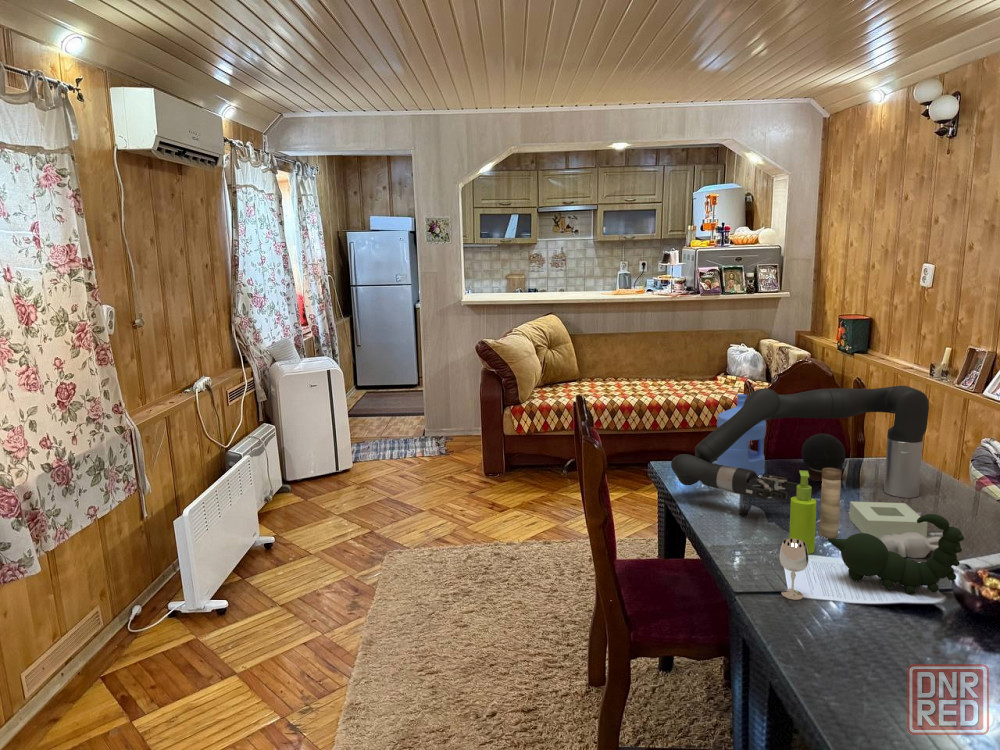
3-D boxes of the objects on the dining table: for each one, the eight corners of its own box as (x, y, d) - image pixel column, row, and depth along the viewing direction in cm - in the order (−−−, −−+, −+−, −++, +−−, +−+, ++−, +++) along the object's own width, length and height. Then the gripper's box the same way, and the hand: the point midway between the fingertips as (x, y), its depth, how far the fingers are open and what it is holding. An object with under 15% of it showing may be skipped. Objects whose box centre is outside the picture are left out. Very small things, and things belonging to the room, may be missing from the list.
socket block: (849, 518, 184) (850, 501, 184) (903, 520, 182) (904, 503, 181) (866, 538, 171) (868, 520, 170) (926, 540, 168) (927, 522, 167)
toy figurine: (946, 592, 146) (822, 563, 157) (962, 512, 142) (834, 489, 153) (953, 612, 137) (821, 580, 148) (970, 528, 134) (834, 502, 144)
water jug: (714, 479, 221) (716, 398, 217) (718, 466, 236) (719, 389, 231) (764, 483, 215) (766, 400, 211) (764, 469, 230) (767, 391, 225)
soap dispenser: (812, 544, 169) (815, 469, 166) (815, 555, 162) (819, 477, 159) (787, 541, 171) (790, 467, 167) (789, 552, 164) (792, 476, 161)
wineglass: (806, 590, 145) (809, 539, 143) (806, 603, 140) (809, 550, 138) (778, 586, 148) (780, 536, 146) (777, 598, 142) (779, 546, 140)
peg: (817, 532, 176) (820, 467, 173) (835, 532, 175) (838, 467, 172) (822, 538, 172) (825, 472, 169) (840, 539, 171) (843, 473, 168)
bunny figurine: (871, 529, 167) (939, 527, 163) (873, 548, 168) (940, 546, 163) (881, 544, 158) (953, 542, 154) (883, 564, 159) (954, 563, 154)
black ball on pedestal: (848, 476, 220) (851, 432, 218) (837, 486, 211) (840, 441, 208) (807, 469, 229) (809, 427, 227) (795, 479, 219) (796, 435, 217)
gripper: (725, 473, 185) (783, 485, 173) (748, 462, 195) (804, 472, 183) (724, 499, 186) (782, 512, 175) (747, 486, 196) (803, 498, 184)
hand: (793, 492), depth 179 cm, fingers open, 8 cm apart
